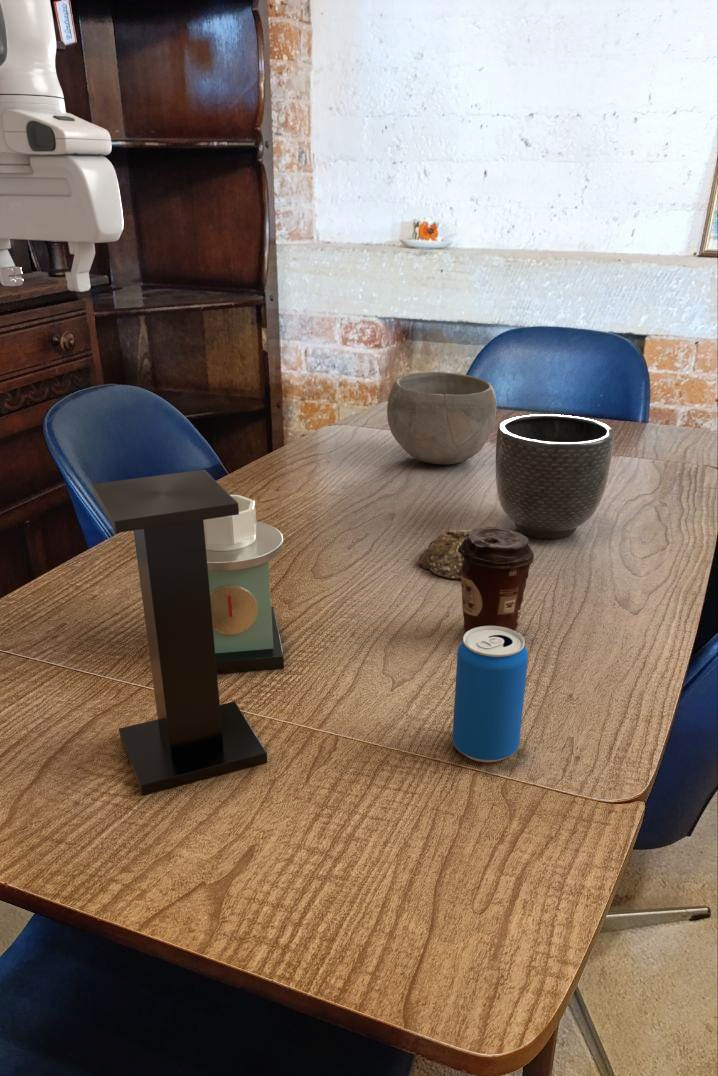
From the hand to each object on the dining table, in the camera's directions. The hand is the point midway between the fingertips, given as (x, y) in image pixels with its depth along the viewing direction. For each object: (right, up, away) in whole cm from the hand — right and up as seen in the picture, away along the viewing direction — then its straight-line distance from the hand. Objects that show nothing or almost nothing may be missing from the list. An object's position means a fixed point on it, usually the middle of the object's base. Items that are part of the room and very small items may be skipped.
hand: (45, 288), depth 91 cm
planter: (+62, -19, +47) cm, 80 cm away
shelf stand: (+16, -47, -5) cm, 50 cm away
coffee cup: (+48, -36, +16) cm, 62 cm away
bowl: (+48, -1, +81) cm, 94 cm away
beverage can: (+45, -47, -5) cm, 65 cm away
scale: (+17, -37, +14) cm, 43 cm away
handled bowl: (+14, -23, +10) cm, 29 cm away
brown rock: (+48, -26, +35) cm, 64 cm away
